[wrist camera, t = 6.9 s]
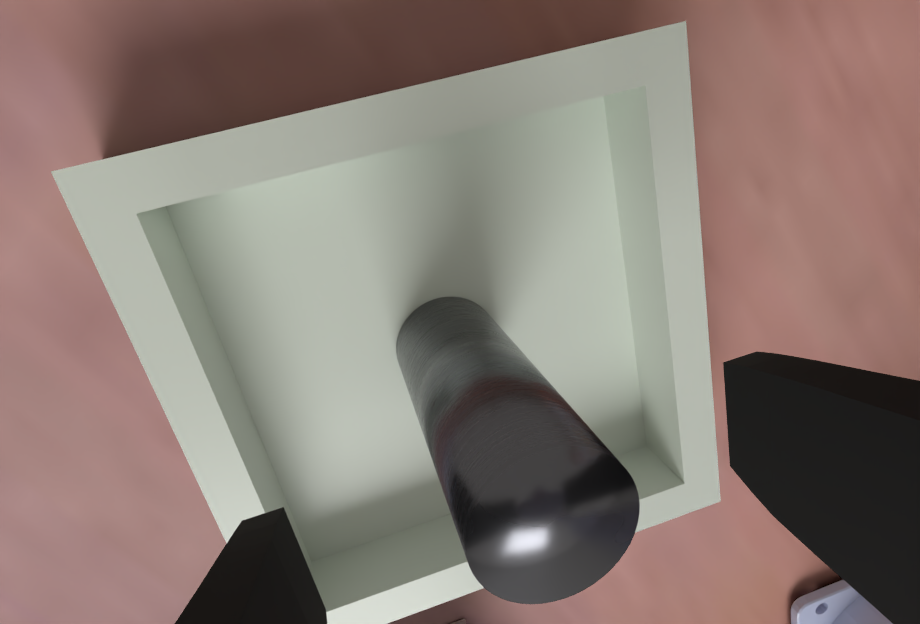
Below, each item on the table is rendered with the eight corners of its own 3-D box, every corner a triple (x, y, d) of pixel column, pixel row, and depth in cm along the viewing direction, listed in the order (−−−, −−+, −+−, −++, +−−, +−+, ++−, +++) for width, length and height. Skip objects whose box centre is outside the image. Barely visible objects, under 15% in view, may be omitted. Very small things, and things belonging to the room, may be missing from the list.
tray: (624, 37, 14) (686, 21, 11) (669, 452, 18) (720, 501, 16) (102, 161, 12) (51, 171, 10) (287, 585, 16) (282, 662, 14)
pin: (490, 286, 14) (636, 425, 8) (502, 379, 15) (643, 572, 9) (386, 309, 14) (451, 477, 7) (406, 403, 15) (479, 626, 8)
